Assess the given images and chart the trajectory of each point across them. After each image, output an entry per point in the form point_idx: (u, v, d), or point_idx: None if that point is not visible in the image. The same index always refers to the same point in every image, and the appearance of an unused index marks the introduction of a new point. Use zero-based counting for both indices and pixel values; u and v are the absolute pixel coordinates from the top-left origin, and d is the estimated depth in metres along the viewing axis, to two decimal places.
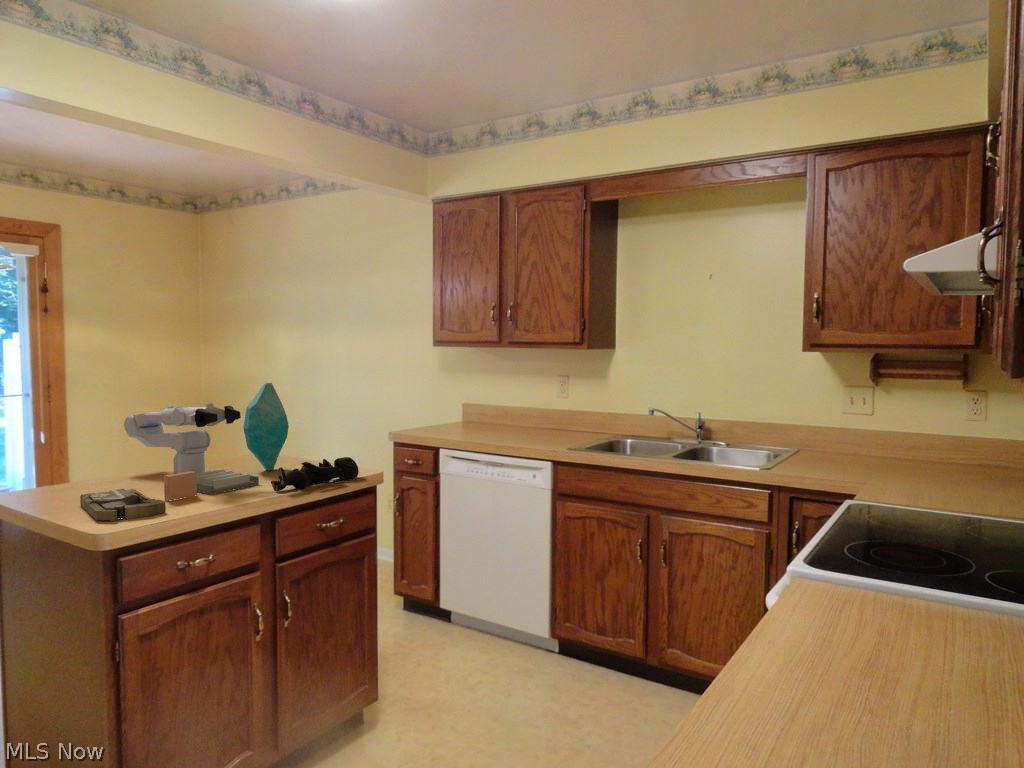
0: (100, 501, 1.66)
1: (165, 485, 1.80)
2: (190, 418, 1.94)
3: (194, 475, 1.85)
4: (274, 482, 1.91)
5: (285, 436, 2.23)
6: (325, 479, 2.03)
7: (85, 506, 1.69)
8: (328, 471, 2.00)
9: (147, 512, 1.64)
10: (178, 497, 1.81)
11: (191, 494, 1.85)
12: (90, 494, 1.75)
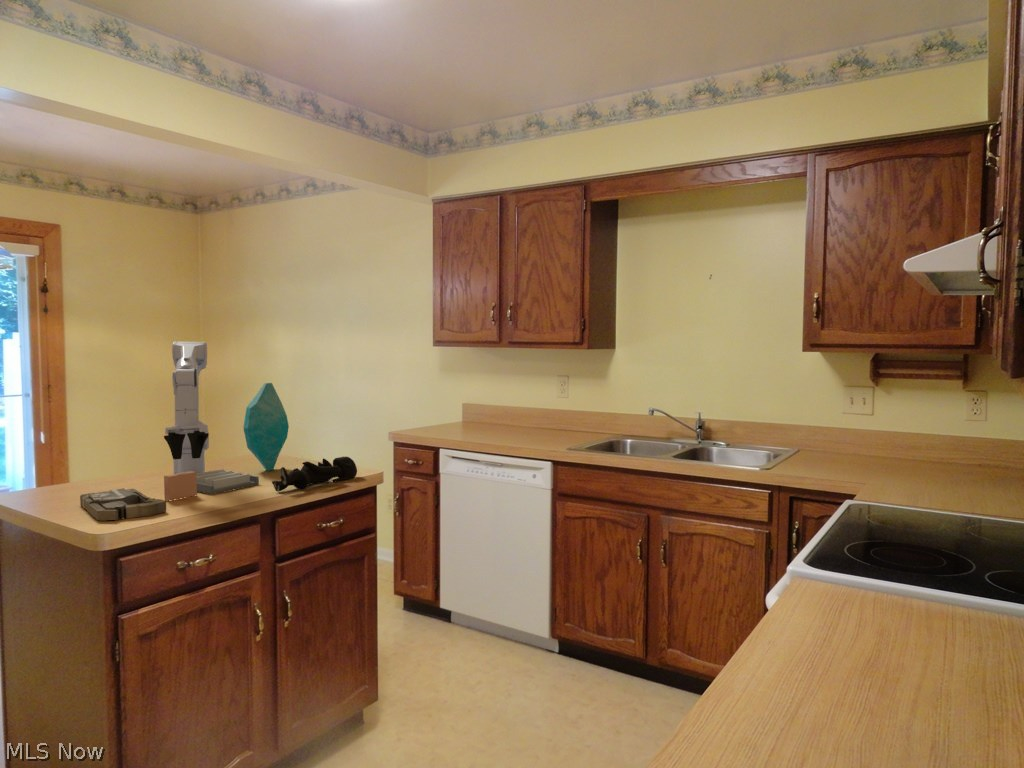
0: (100, 501, 1.67)
1: (165, 485, 1.80)
2: None
3: (194, 475, 1.85)
4: (276, 482, 1.91)
5: (285, 436, 2.23)
6: (325, 479, 2.03)
7: (85, 506, 1.69)
8: (329, 470, 2.00)
9: (148, 512, 1.64)
10: (178, 497, 1.81)
11: (191, 494, 1.85)
12: (90, 494, 1.75)
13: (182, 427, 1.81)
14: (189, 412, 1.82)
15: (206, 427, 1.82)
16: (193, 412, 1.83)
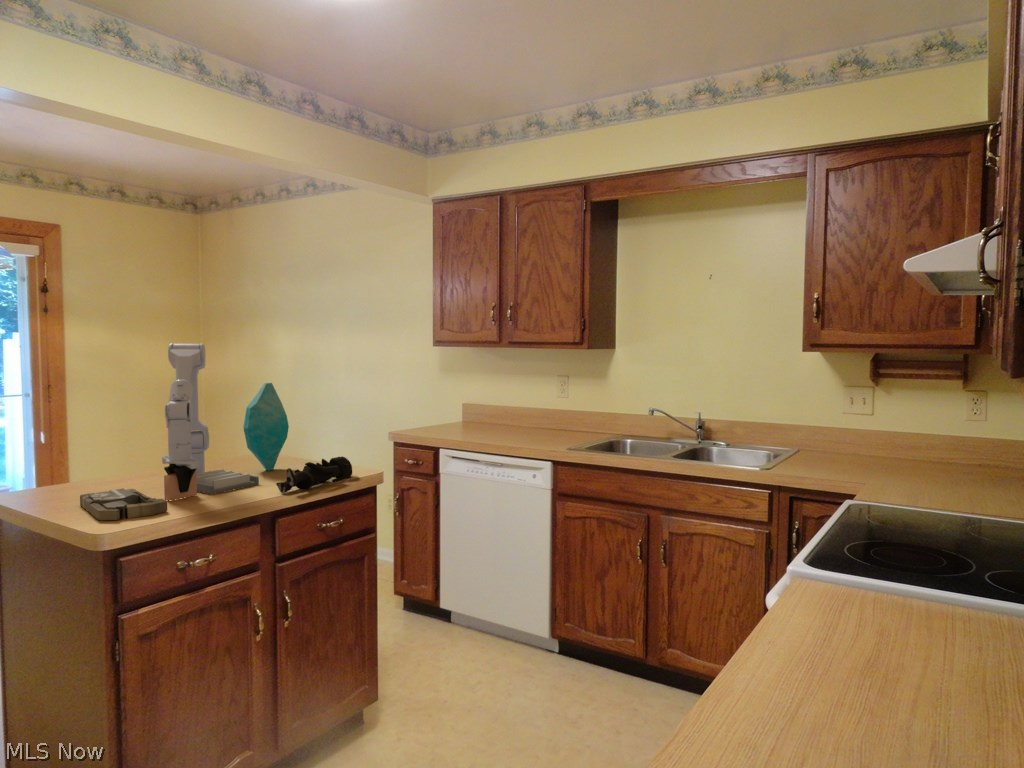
0: (101, 501, 1.67)
1: (165, 485, 1.80)
2: None
3: (194, 475, 1.85)
4: (281, 483, 1.89)
5: (285, 436, 2.23)
6: (325, 479, 2.03)
7: (85, 506, 1.69)
8: (330, 470, 2.01)
9: (150, 511, 1.64)
10: (178, 497, 1.81)
11: (191, 494, 1.85)
12: (90, 494, 1.75)
13: (174, 462, 1.80)
14: (181, 447, 1.80)
15: (197, 464, 1.79)
16: (185, 446, 1.81)
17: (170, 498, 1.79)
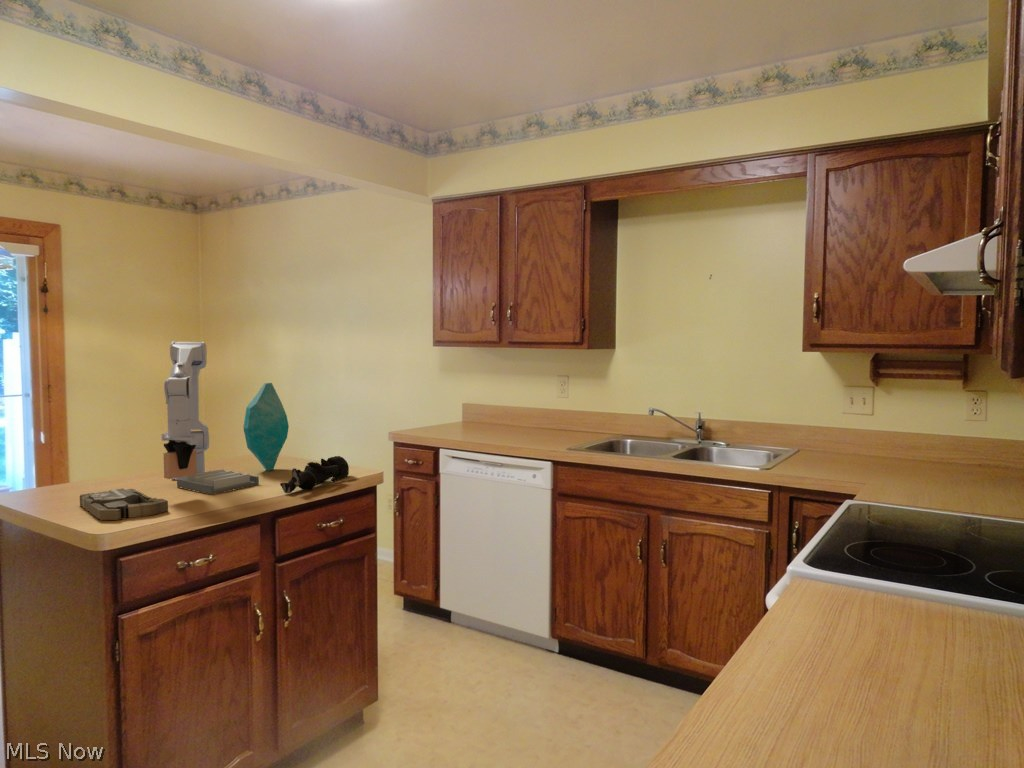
0: (102, 501, 1.67)
1: (165, 462, 1.80)
2: None
3: (194, 453, 1.85)
4: (285, 484, 1.89)
5: (285, 436, 2.23)
6: (325, 478, 2.03)
7: (86, 506, 1.69)
8: (331, 470, 2.01)
9: (151, 511, 1.65)
10: (178, 475, 1.81)
11: (191, 472, 1.84)
12: (90, 494, 1.75)
13: (174, 438, 1.79)
14: (181, 423, 1.80)
15: (196, 440, 1.79)
16: (185, 423, 1.81)
17: (170, 476, 1.79)
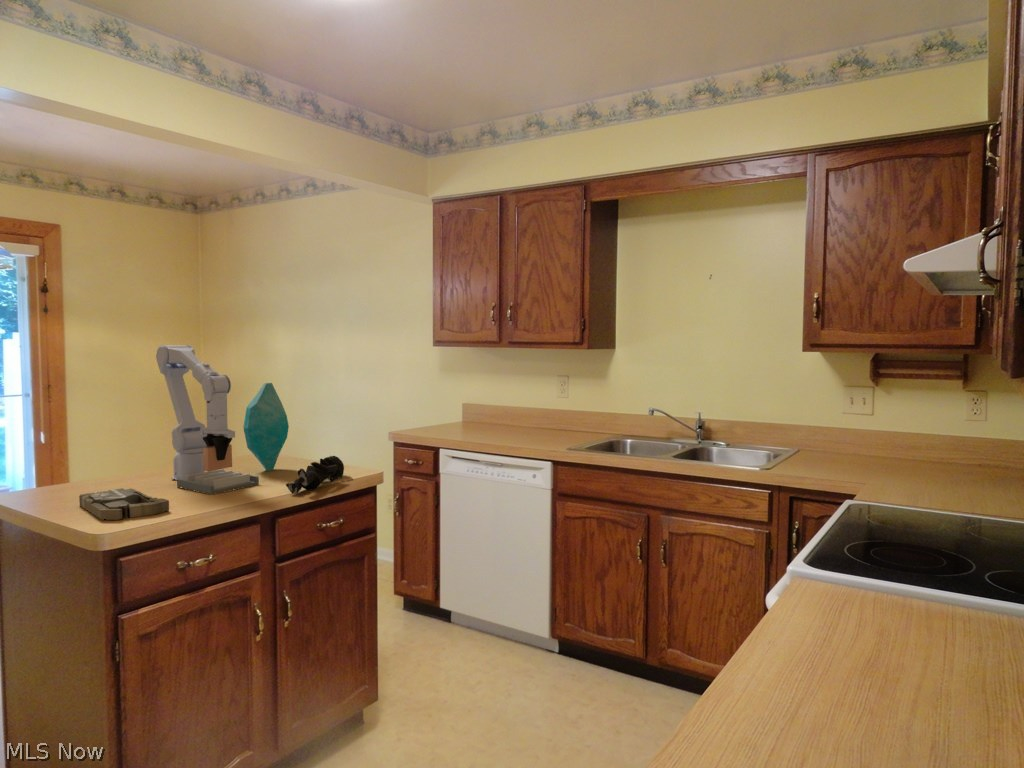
0: (102, 500, 1.67)
1: (204, 456, 1.95)
2: None
3: (229, 447, 2.00)
4: (292, 484, 1.88)
5: (285, 436, 2.23)
6: (325, 478, 2.03)
7: (86, 506, 1.69)
8: (332, 469, 2.02)
9: (152, 511, 1.65)
10: (216, 467, 1.96)
11: (227, 465, 2.00)
12: (89, 494, 1.75)
13: (212, 432, 1.95)
14: (219, 418, 1.95)
15: (233, 433, 1.94)
16: (223, 417, 1.96)
17: (209, 468, 1.94)
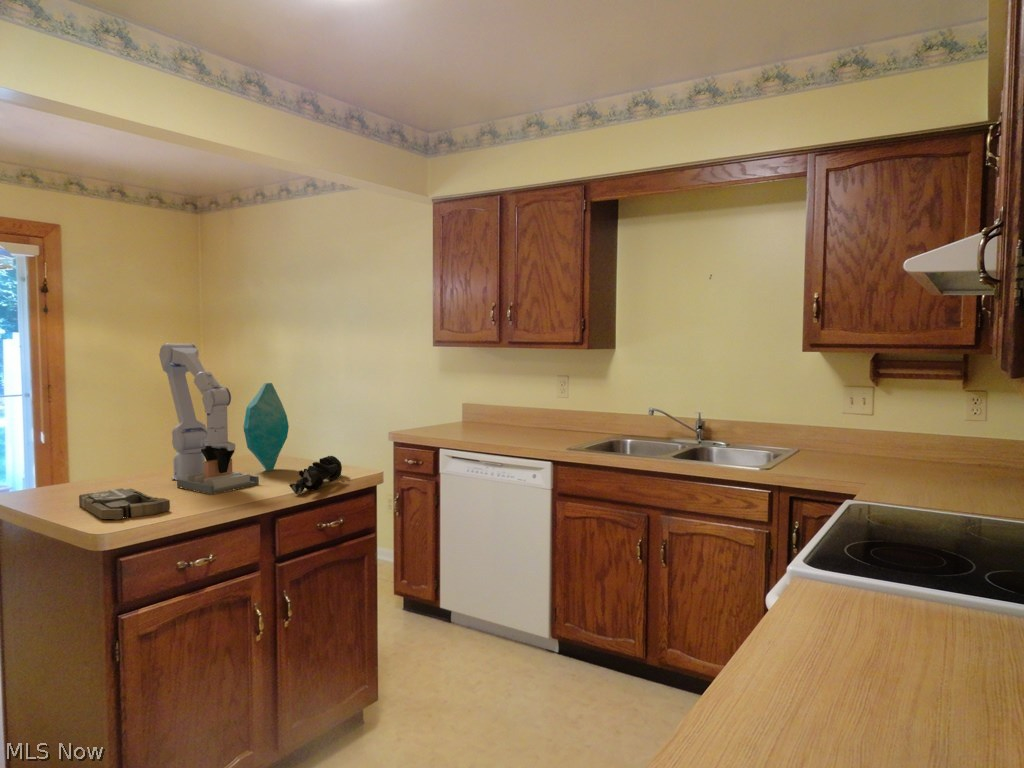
0: (103, 500, 1.67)
1: (204, 470, 1.95)
2: None
3: (230, 461, 2.00)
4: (296, 485, 1.88)
5: (285, 436, 2.23)
6: (325, 478, 2.04)
7: (86, 506, 1.69)
8: (333, 469, 2.02)
9: (153, 511, 1.65)
10: None
11: None
12: (89, 494, 1.74)
13: (213, 444, 1.95)
14: (219, 430, 1.95)
15: (234, 446, 1.95)
16: (223, 430, 1.96)
17: None
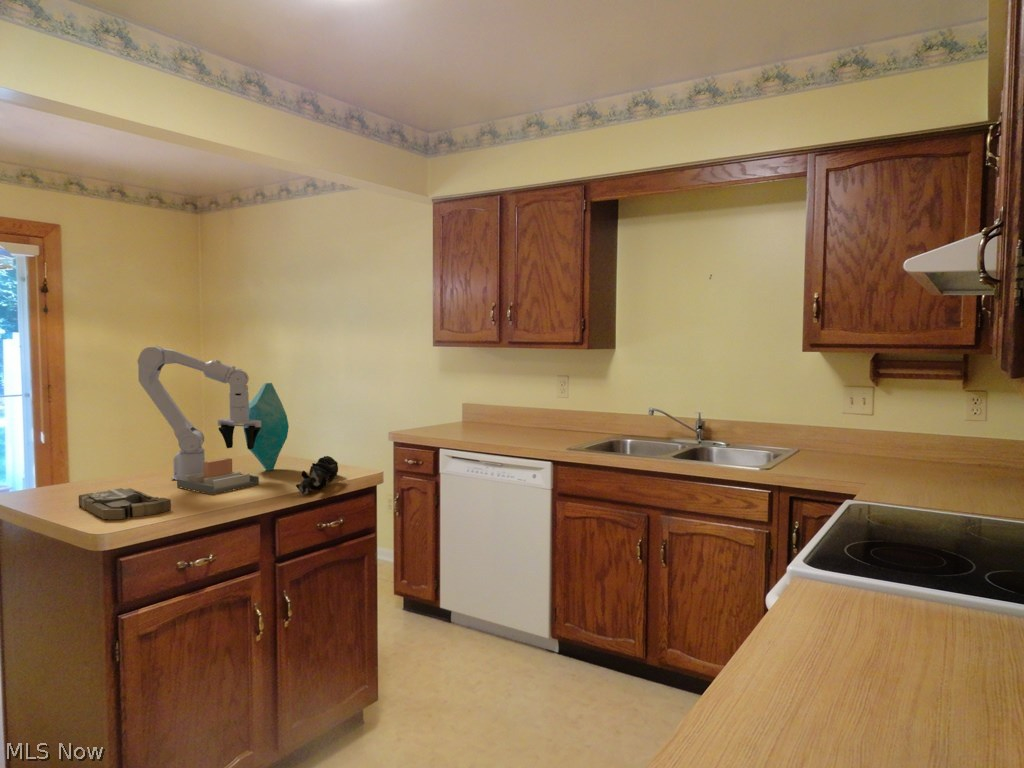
0: (103, 500, 1.67)
1: (204, 470, 1.95)
2: None
3: (230, 461, 2.00)
4: (303, 485, 1.87)
5: (285, 436, 2.23)
6: None
7: (86, 506, 1.69)
8: (334, 469, 2.03)
9: (154, 510, 1.66)
10: None
11: None
12: (88, 494, 1.74)
13: (239, 422, 2.08)
14: (244, 409, 2.09)
15: (260, 423, 2.10)
16: (247, 409, 2.10)
17: None
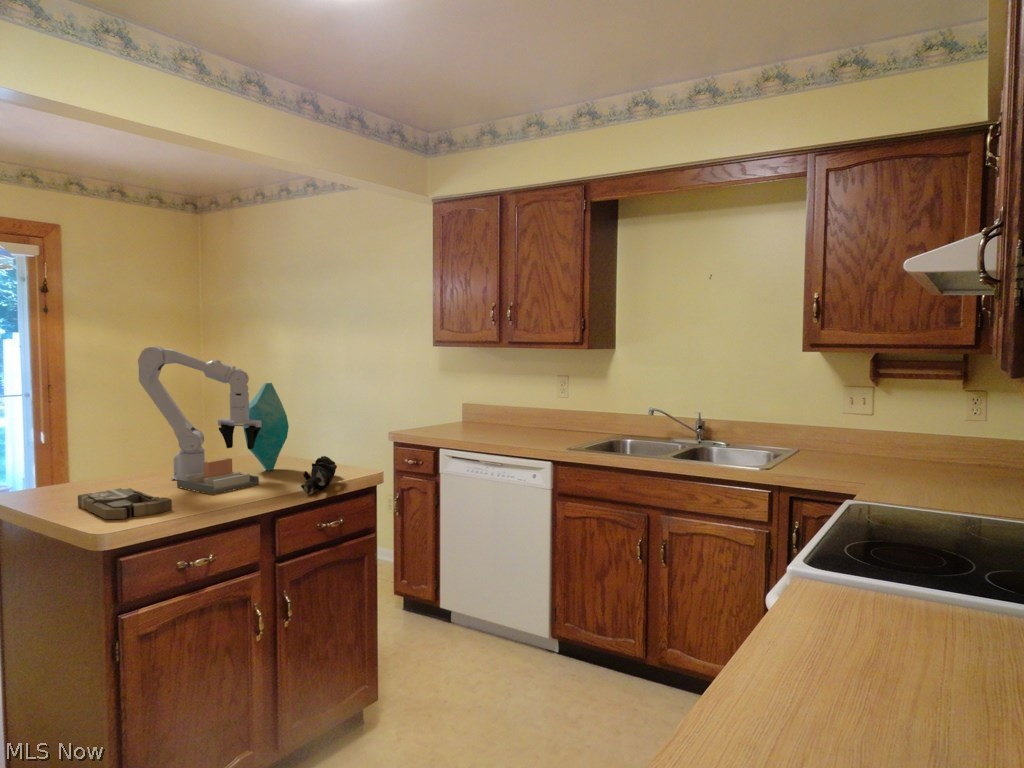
0: (104, 500, 1.67)
1: (204, 470, 1.95)
2: None
3: (230, 461, 2.00)
4: (308, 485, 1.87)
5: (285, 436, 2.23)
6: None
7: (86, 506, 1.69)
8: (335, 469, 2.03)
9: (156, 510, 1.66)
10: None
11: None
12: (88, 494, 1.74)
13: (239, 422, 2.08)
14: (244, 409, 2.09)
15: (260, 423, 2.10)
16: (247, 409, 2.10)
17: None
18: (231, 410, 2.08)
